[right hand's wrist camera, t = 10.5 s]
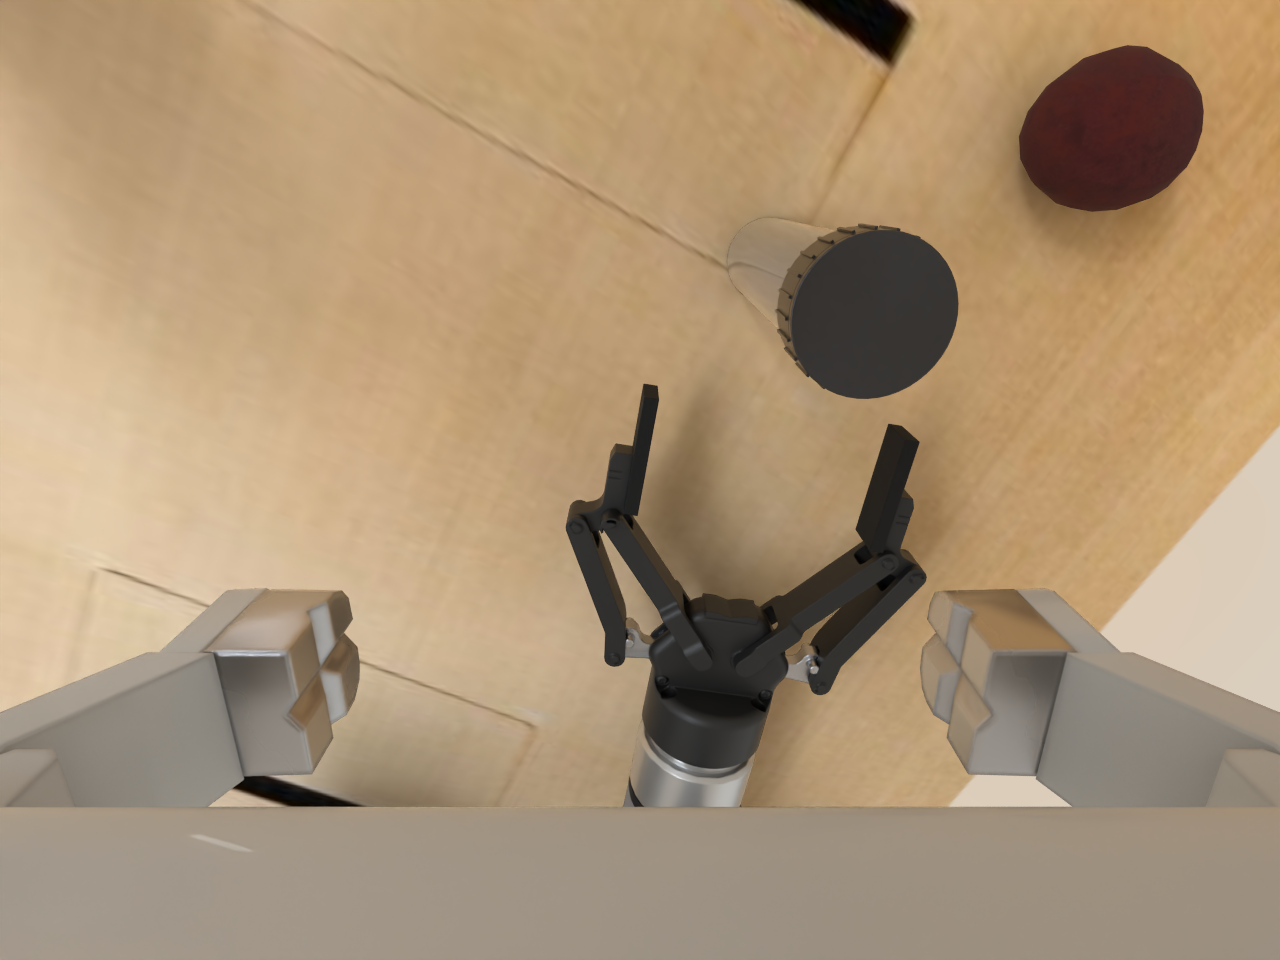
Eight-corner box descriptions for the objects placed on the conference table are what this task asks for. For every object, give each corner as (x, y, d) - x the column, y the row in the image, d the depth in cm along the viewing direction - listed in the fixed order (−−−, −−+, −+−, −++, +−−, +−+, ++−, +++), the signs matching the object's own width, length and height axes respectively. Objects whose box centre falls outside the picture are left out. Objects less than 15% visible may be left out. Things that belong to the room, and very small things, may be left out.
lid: (933, 369, 26) (961, 386, 24) (782, 394, 26) (796, 413, 24) (930, 210, 24) (960, 212, 22) (767, 239, 24) (780, 244, 22)
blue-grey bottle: (810, 293, 42) (943, 373, 24) (732, 307, 42) (804, 396, 24) (803, 210, 41) (941, 228, 22) (722, 225, 41) (792, 254, 23)
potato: (1124, 207, 40) (1218, 211, 34) (985, 211, 40) (1052, 215, 34) (1156, 56, 38) (1265, 29, 31) (1007, 60, 38) (1085, 33, 31)
